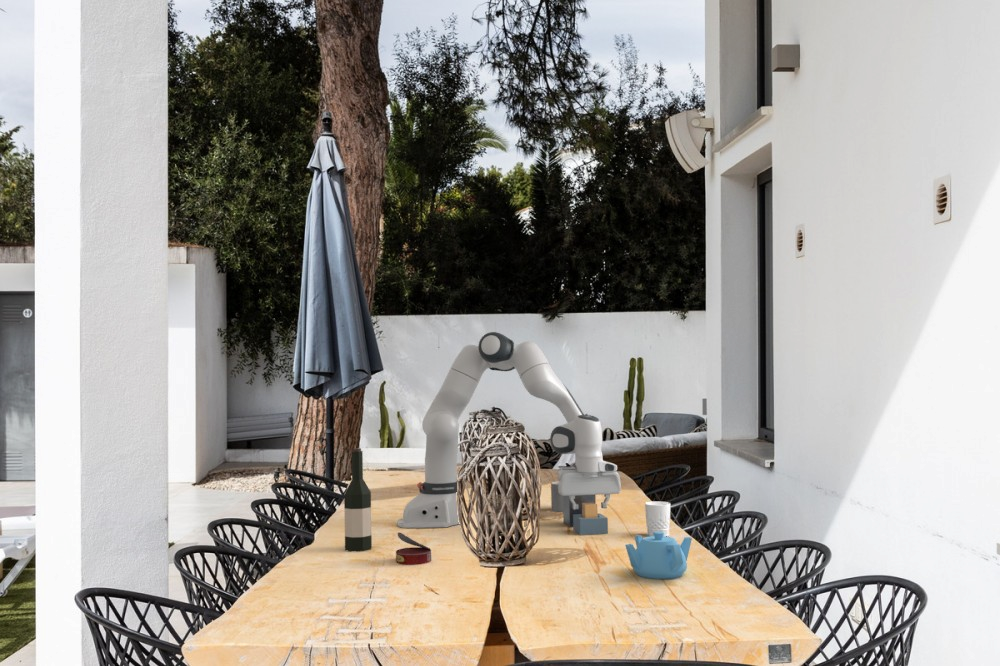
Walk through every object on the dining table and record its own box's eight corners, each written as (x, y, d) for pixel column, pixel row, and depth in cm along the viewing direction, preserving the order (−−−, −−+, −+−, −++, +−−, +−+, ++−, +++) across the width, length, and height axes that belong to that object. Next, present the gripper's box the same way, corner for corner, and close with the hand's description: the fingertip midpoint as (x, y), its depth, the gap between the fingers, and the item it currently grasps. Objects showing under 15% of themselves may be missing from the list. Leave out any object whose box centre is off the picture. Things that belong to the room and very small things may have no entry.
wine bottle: (349, 552, 272) (348, 450, 273) (340, 547, 280) (339, 448, 280) (376, 549, 276) (374, 448, 277) (367, 544, 283) (365, 446, 284)
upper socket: (569, 527, 307) (568, 484, 307) (563, 522, 315) (562, 481, 316) (596, 526, 308) (595, 483, 309) (589, 521, 317) (588, 480, 317)
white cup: (673, 533, 292) (673, 502, 293) (667, 538, 285) (666, 505, 285) (649, 532, 296) (648, 500, 296) (642, 536, 288) (641, 504, 289)
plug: (585, 526, 296) (585, 504, 296) (582, 524, 300) (582, 503, 300) (597, 526, 296) (597, 504, 297) (594, 524, 300) (594, 502, 301)
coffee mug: (552, 512, 337) (552, 484, 337) (550, 508, 347) (550, 481, 347) (589, 511, 337) (588, 484, 338) (586, 507, 347) (585, 480, 347)
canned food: (399, 575, 262) (397, 541, 267) (434, 571, 262) (432, 537, 267) (392, 565, 252) (390, 529, 257) (428, 560, 252) (426, 525, 257)
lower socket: (580, 535, 293) (580, 519, 293) (573, 530, 302) (573, 514, 302) (607, 533, 294) (607, 517, 294) (600, 528, 303) (599, 513, 303)
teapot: (622, 578, 235) (621, 536, 235) (635, 565, 249) (634, 525, 249) (683, 583, 229) (682, 539, 229) (693, 569, 243) (692, 528, 244)
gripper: (559, 467, 294) (560, 511, 293) (622, 465, 297) (622, 508, 297) (555, 465, 300) (556, 508, 300) (616, 463, 303) (617, 505, 303)
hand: (589, 508), depth 298 cm, fingers open, 8 cm apart
